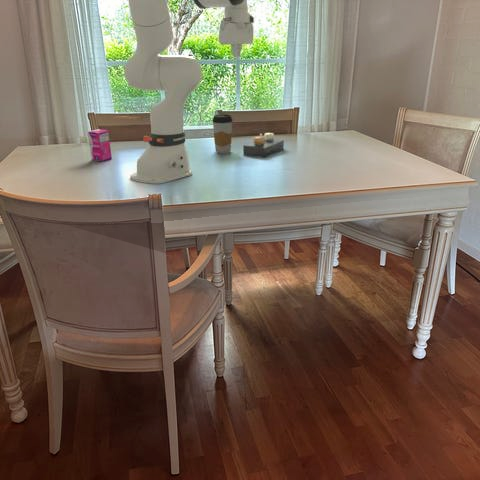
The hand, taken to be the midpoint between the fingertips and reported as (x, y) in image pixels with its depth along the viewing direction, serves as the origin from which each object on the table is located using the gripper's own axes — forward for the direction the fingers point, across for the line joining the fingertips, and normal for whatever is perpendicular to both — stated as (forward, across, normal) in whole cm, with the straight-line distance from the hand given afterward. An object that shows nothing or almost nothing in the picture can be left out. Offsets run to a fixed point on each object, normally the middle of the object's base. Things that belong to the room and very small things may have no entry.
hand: (236, 57), depth 176 cm
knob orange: (+37, -1, -11) cm, 38 cm away
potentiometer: (+33, +3, -9) cm, 35 cm away
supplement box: (+37, -40, +39) cm, 67 cm away
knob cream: (+37, +8, -11) cm, 39 cm away
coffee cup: (+37, -5, +4) cm, 38 cm away
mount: (+37, +3, -11) cm, 39 cm away
